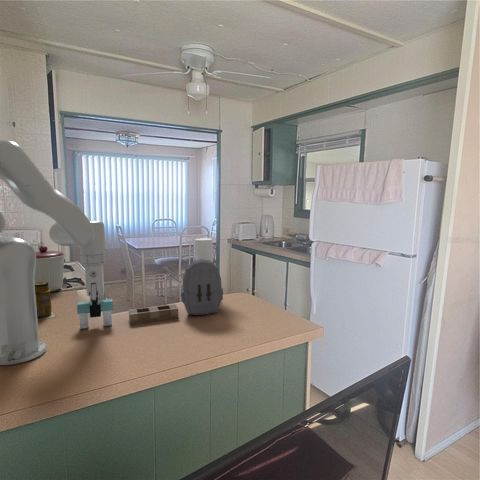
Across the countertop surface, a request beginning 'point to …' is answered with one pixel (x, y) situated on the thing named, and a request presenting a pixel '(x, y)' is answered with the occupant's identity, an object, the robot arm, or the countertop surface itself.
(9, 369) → the countertop surface
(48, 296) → the condiment
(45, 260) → the canister
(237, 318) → the countertop surface
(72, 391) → the countertop surface
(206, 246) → the cylindrical container
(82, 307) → the teal and white bridge
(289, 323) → the countertop surface
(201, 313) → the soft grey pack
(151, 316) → the tan slotted block
